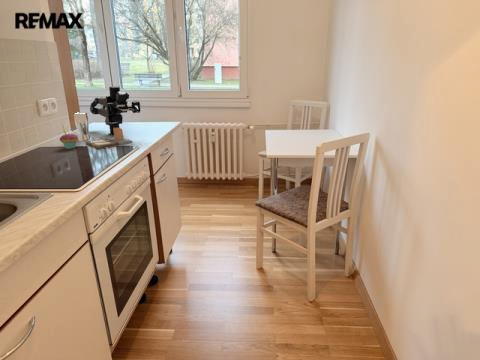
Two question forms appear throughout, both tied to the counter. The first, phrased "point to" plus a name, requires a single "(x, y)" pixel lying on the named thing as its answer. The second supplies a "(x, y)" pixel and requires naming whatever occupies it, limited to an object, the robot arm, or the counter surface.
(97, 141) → the block
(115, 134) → the gray plate with block
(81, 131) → the beer glass
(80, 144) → the counter surface
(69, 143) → the cupcake
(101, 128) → the counter surface
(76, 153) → the counter surface
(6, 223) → the counter surface
